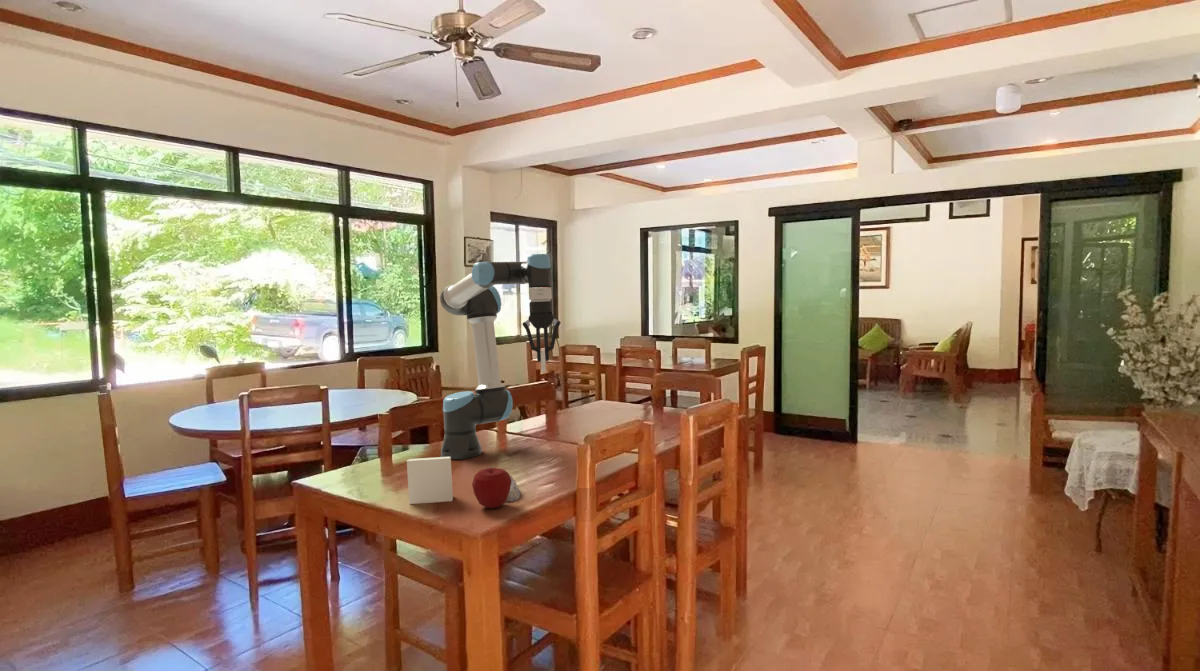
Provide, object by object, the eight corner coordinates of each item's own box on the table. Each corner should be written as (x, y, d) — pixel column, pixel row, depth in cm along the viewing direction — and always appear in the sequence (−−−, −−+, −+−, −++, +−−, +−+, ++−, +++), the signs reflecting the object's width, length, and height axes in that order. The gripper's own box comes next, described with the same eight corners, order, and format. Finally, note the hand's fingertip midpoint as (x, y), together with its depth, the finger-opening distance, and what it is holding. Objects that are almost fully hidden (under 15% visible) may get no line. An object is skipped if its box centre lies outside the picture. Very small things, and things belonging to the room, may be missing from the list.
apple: (472, 515, 176) (469, 473, 175) (475, 502, 186) (473, 463, 185) (512, 512, 177) (510, 471, 176) (512, 499, 187) (511, 460, 187)
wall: (410, 502, 188) (407, 459, 187) (452, 499, 189) (450, 457, 188) (409, 504, 186) (406, 460, 185) (452, 501, 188) (450, 458, 187)
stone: (511, 521, 186) (532, 493, 188) (486, 502, 182) (509, 474, 185) (494, 504, 201) (514, 478, 204) (471, 486, 197) (492, 460, 200)
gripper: (520, 301, 206) (523, 373, 208) (560, 300, 207) (563, 371, 209) (521, 301, 213) (524, 370, 215) (559, 299, 215) (562, 368, 217)
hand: (543, 371), depth 212 cm, fingers closed
